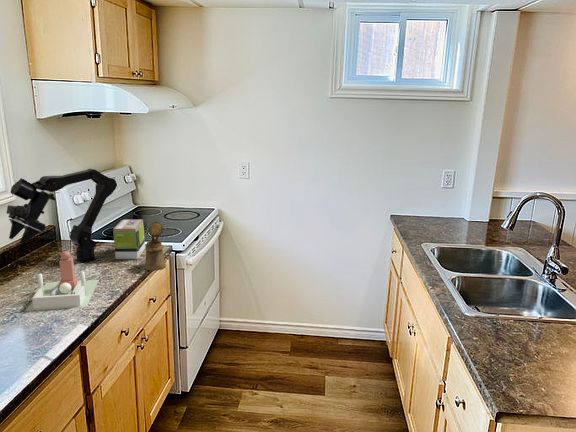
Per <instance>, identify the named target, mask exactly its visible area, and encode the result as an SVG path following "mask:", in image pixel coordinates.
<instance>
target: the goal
mask: <svg viewBox="0 0 576 432" xmlns="http://www.w3.org/2000/svg"><path fill="white" fill-rule="evenodd" d="M85 273H86V272H85V271H80V274H79V275H80V280H81V289H80V290H79V292H78V294H71V295H55V296H45V295H44V287H43V286H44V280H43V278H44V277H43V274H42V273H37V283H38V290H37V291H36V293H35V294H34V295H33V297H32V298H31V299H32V301H33V308H34V309H42V308H56V307H70V306H81V304H82V302H83V300H84V298H85V296H86V295H87V294H86V284H85V280H86V276H85Z"/></svg>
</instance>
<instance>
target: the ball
mask: <svg viewBox="0 0 576 432" xmlns="http://www.w3.org/2000/svg"><path fill="white" fill-rule="evenodd" d="M59 290H60V292H61V293H63V294H66V293H69V292H70V291H71V285H70V284H69V283H62V284H61V285H60V287H59Z"/></svg>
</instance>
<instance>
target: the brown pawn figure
mask: <svg viewBox="0 0 576 432" xmlns="http://www.w3.org/2000/svg"><path fill="white" fill-rule="evenodd" d="M163 232H164V226H163V224H161V223H160V222H159V221H154V222H153V223H151V224H150V225H149V227H148V234H149V235H150V236H151V240H149V241H146V244H145V260H144V261H145V263H144V269H145V270H147V271H151V272H152V271H153V272H154V271H161V270H164V269H166V268H167V264H166V263H167V262H166V261H165V255H164V249H163V248H164V247H163V243H162V241H160V240H159V236H161V235H162V234H163Z"/></svg>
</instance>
